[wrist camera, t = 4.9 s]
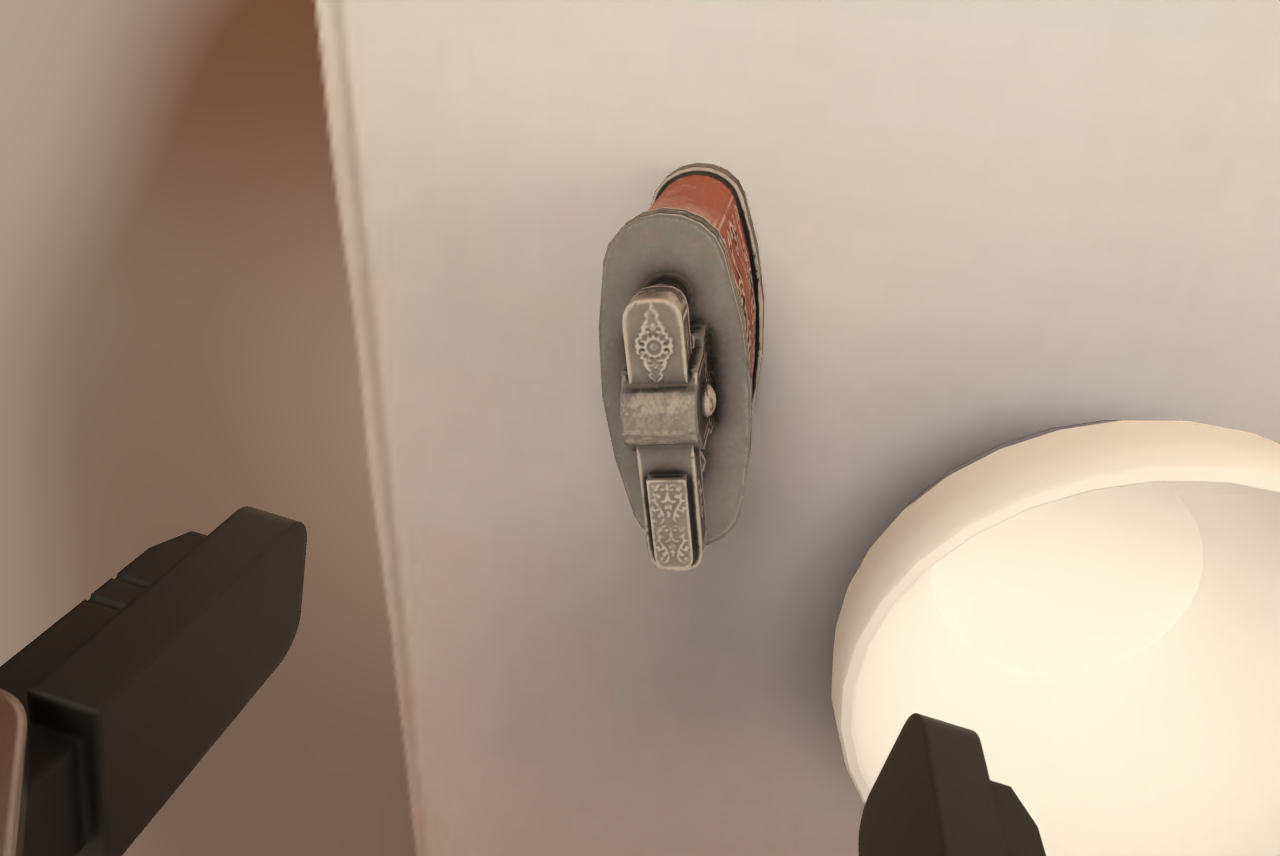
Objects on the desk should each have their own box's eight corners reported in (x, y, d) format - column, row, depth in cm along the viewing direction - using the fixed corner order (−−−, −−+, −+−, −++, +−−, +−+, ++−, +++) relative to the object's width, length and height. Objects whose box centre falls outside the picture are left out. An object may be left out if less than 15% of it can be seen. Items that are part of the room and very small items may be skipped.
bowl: (736, 571, 30) (717, 728, 24) (1068, 239, 24) (1172, 324, 17) (1048, 798, 32) (1114, 1006, 25) (1431, 543, 26) (1653, 728, 19)
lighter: (638, 168, 25) (548, 247, 16) (757, 158, 25) (730, 234, 16) (664, 424, 29) (600, 607, 20) (769, 421, 28) (754, 609, 19)
